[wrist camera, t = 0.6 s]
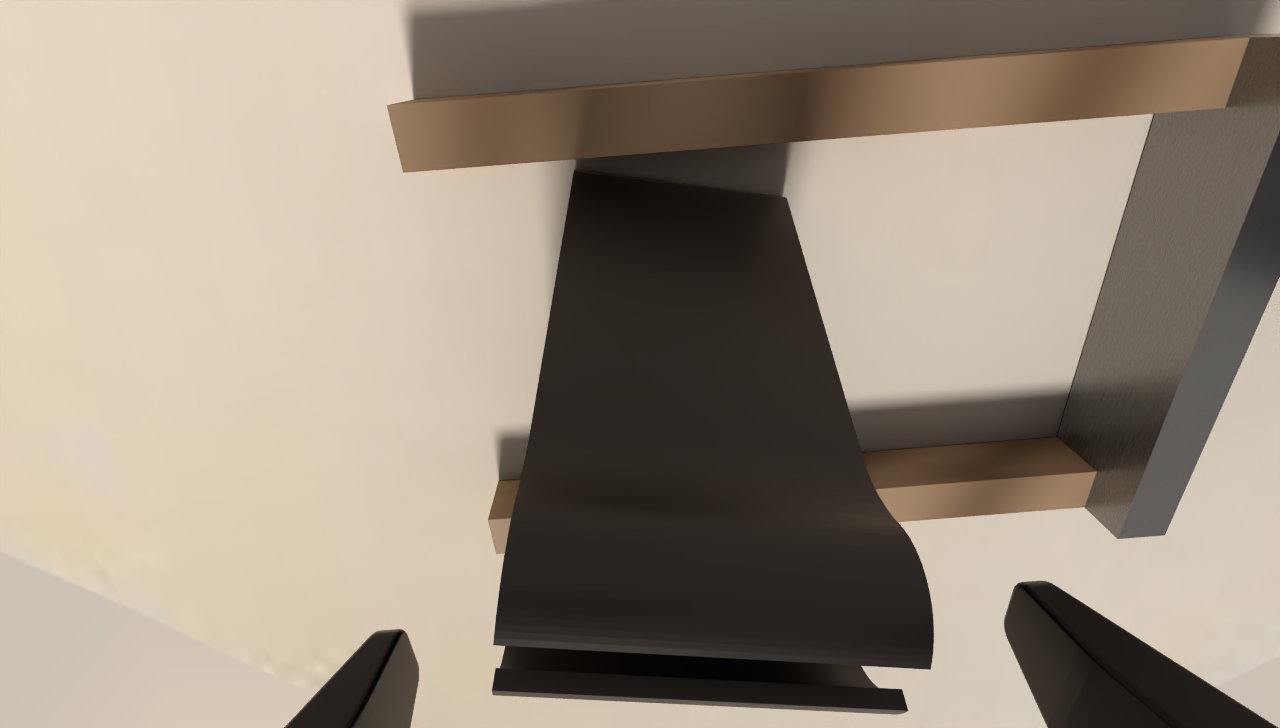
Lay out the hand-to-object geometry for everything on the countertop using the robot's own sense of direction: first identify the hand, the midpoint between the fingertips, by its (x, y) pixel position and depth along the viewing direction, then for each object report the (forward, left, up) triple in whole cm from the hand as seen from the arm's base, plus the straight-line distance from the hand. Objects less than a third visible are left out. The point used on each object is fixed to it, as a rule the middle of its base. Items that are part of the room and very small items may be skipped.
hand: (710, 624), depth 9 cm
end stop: (-15, 0, -11) cm, 18 cm away
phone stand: (0, 0, -11) cm, 11 cm away
